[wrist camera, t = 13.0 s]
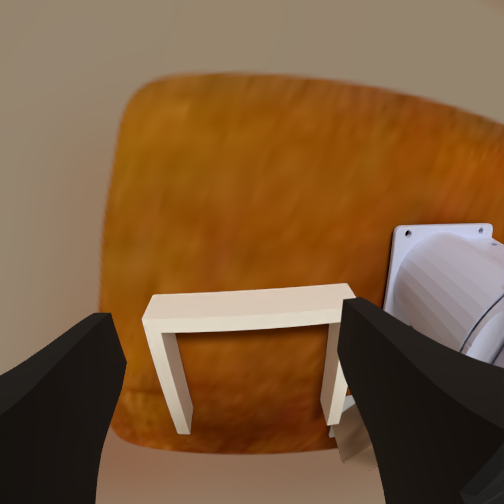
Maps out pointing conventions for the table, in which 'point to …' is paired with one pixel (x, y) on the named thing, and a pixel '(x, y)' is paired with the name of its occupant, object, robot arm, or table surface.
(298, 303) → the cream u-shaped arch
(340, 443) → the block
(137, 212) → the table surface
